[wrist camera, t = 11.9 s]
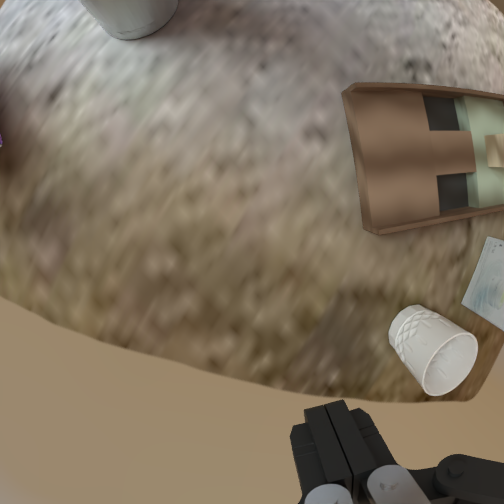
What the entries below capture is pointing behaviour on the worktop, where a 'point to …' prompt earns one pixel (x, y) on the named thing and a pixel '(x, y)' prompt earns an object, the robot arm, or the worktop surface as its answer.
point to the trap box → (423, 153)
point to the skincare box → (488, 284)
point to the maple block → (495, 150)
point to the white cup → (433, 348)
